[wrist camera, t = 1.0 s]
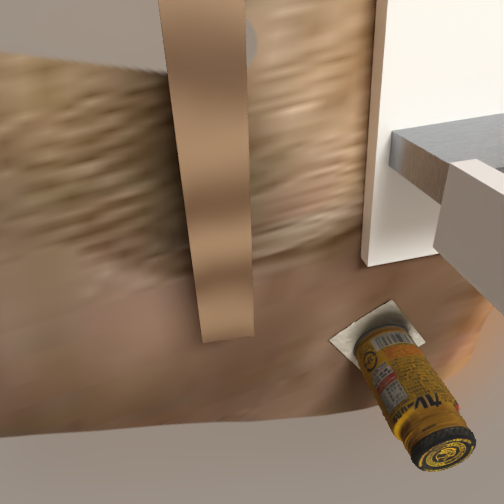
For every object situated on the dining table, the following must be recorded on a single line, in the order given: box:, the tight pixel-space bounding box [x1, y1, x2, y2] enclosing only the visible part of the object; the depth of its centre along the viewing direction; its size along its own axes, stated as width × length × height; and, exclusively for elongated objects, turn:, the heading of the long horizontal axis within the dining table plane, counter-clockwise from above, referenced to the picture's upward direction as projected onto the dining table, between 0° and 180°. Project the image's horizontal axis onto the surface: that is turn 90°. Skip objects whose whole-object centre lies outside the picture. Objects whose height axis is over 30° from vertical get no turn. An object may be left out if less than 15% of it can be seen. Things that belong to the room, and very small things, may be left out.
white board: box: [361, 0, 504, 267], centre depth 28 cm, size 20×11×2 cm, turn 6°
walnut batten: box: [158, 0, 254, 343], centre depth 25 cm, size 24×4×5 cm, turn 1°
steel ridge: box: [389, 113, 504, 205], centre depth 24 cm, size 2×9×8 cm, turn 96°
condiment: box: [329, 300, 476, 472], centre depth 35 cm, size 7×8×12 cm
